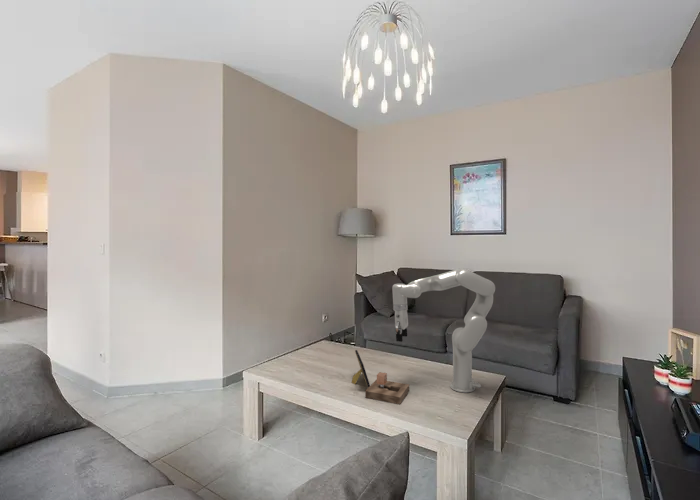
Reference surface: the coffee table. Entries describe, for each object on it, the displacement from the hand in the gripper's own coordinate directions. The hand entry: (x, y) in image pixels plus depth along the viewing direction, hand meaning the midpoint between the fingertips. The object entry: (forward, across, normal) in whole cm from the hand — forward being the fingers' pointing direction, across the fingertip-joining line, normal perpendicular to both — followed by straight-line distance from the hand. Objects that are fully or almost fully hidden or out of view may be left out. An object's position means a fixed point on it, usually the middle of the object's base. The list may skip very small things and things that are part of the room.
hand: (401, 338), depth 188 cm
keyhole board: (+25, -13, +5) cm, 29 cm away
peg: (+25, -13, +8) cm, 29 cm away
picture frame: (+25, -5, +24) cm, 35 cm away
